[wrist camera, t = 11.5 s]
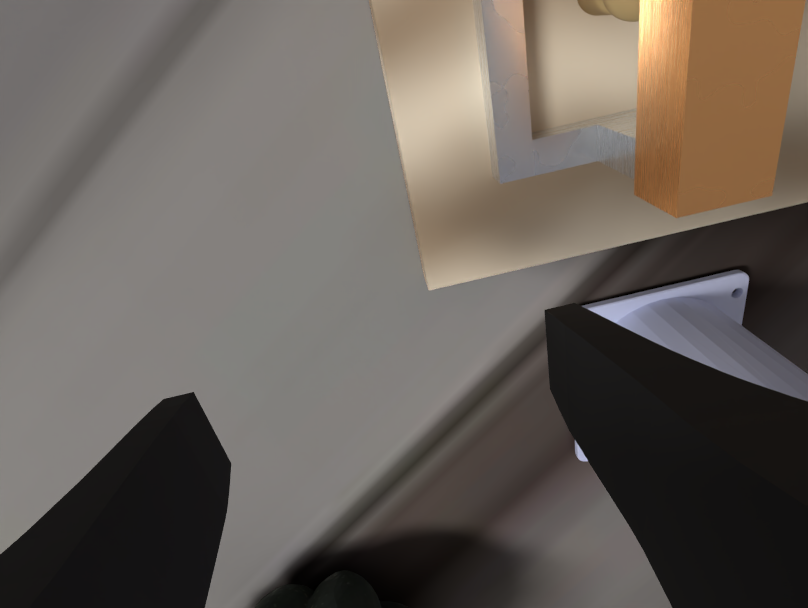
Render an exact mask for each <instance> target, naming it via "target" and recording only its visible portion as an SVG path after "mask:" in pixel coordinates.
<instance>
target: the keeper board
mask: <svg viewBox="0 0 808 608" xmlns="http://www.w3.org/2000/svg"><path fill="white" fill-rule="evenodd" d="M369 4H370V9H371V14H372V19H373V24H374V29H375V34H376V39H377V44H378V49H379V54H380V59H381V64H382V69H383V74H384V79H385V84H386V89H387V94H388V98H389V103H390V108H391V113H392V118H393V123H394V128H395V133H396V138H397V143H398V148H399V153H400V158H401V163H402V168H403V173H404V178H405V183H406V188H407V193H408V198H409V203H410V208H411V213H412V218H413V223H414V228H415V233H416V238H417V243H418V248H419V253H420V258H421V263H422V268H423V273H424V278H425V281H426V284H427V286H428V289H429V290H433V289H438V288H442V287H446V286H450V285H455V284H459V283H463V282H468V281H472V280H476V279H480V278H485V277H489V276H493V275H498V274H502V273H506V272H510V271H515V270H519V269H523V268H528V267H532V266H536V265H540V264H545V263H549V262H553V261H558V260H562V259H566V258H570V257H575V256H579V255H583V254H588V253H592V252H596V251H600V250H605V249H609V248H613V247H618V246H622V245H626V244H630V243H635V242H639V241H643V240H648V239H652V238H656V237H660V236H665V235H669V234H673V233H678V232H682V231H686V230H690V229H695V228H699V227H703V226H708V225H712V224H716V223H720V222H725V221H729V220H733V219H738V218H742V217H746V216H750V215H755V214H759V213H763V212H768V211H772V210H776V209H781V208H785V207H789V206H793V205H798V204H802V203H806V202H808V0H806V1H805V7H804V13H803V19H802V25H801V30H800V36H799V42H798V48H797V54H796V60H795V65H794V71H793V77H792V83H791V89H790V94H789V100H788V106H787V112H786V118H785V124H784V129H783V135H782V141H781V147H780V153H779V158H778V164H777V170H776V176H775V182H774V188H773V193H772V196H769V197H765V198H761V199H757V200H752V201H748V202H744V203H739V204H735V205H731V206H727V207H722V208H718V209H714V210H709V211H705V212H701V213H697V214H692V215H688V216H684V217H679V218H675V217H673V216H672V215H670V214H668V213H666V212H664V211H663V210H661V209H659V208H657V207H655V206H653V205H652V204H650V203H648V202H646V201H644V200H643V199H641V198H639V197H637V196H635V195H634V179H632V178H630V177H628V176H626V175H624V174H622V173H621V172H619V171H617V170H615V169H613V168H611V167H609V166H607V165H605V164H603V163H601V162H599V161H596V162H592V163H588V164H583V165H579V166H575V167H570V168H566V169H562V170H558V171H553V172H549V173H545V174H540V175H536V176H532V177H527V178H523V179H519V180H515V181H510V182H506V183H502V184H500V183H499V182H498V181H497V180H496V179H495V178H494V177H493V176H492V169H491V160H490V151H489V142H488V134H487V125H486V116H485V107H484V98H483V89H482V80H481V71H480V62H479V53H478V44H477V36H476V27H475V18H474V9H473V0H369ZM639 13H640V0H523V14H524V29H525V43H526V58H527V72H528V86H529V101H530V115H531V129H532V132H535V131H540V130H544V129H548V128H552V127H557V126H561V125H565V124H570V123H574V122H578V121H583V120H587V119H591V118H595V117H600V116H604V115H608V114H613V113H617V112H621V111H626V110H630V109H634V108H637V79H638V46H639Z"/></svg>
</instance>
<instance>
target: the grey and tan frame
mask: <svg viewBox="0 0 808 608" xmlns="http://www.w3.org/2000/svg"><path fill="white" fill-rule="evenodd" d="M805 1H806V0H640V13H639V46H638V79H637V108H634V109H630V110H626V111H621V112H617V113H613V114H608V115H604V116H600V117H595V118H591V119H587V120H583V121H578V122H574V123H570V124H565V125H561V126H557V127H552V128H548V129H544V130H540V131H535V132H532V129H531V115H530V101H529V86H528V72H527V58H526V43H525V29H524V14H523V0H473V9H474V18H475V27H476V36H477V44H478V53H479V62H480V71H481V80H482V89H483V98H484V107H485V116H486V125H487V134H488V142H489V151H490V160H491V169H492V176H493V177H494V178H495V179H496V180H497V181H498V182H499V183H500V184H502V183H506V182H510V181H515V180H519V179H523V178H527V177H532V176H536V175H540V174H545V173H549V172H553V171H558V170H562V169H566V168H570V167H575V166H579V165H583V164H588V163H592V162H596V161H599V162H601V163H603V164H605V165H607V166H609V167H611V168H613V169H615V170H617V171H619V172H621V173H622V174H624V175H626V176H628V177H630V178H632V179H634V195H635V196H637V197H639V198H641V199H643V200H644V201H646V202H648V203H650V204H652V205H653V206H655V207H657V208H659V209H661V210H663V211H664V212H666V213H668V214H670V215H672V216H673V217H675V218H679V217H684V216H688V215H692V214H697V213H701V212H705V211H709V210H714V209H718V208H722V207H727V206H731V205H735V204H739V203H744V202H748V201H752V200H757V199H761V198H765V197H769V196H772V193H773V188H774V182H775V176H776V170H777V164H778V158H779V153H780V147H781V141H782V135H783V129H784V124H785V118H786V112H787V106H788V100H789V94H790V89H791V83H792V77H793V71H794V65H795V60H796V54H797V48H798V42H799V36H800V30H801V25H802V19H803V13H804V7H805Z"/></svg>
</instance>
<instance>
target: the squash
mask: <svg viewBox="0 0 808 608" xmlns="http://www.w3.org/2000/svg"><path fill="white" fill-rule="evenodd" d="M255 608H408V607H407V606H405V605H403V604H400V603H396V602H391V601H381V602H380V601H379V598H378V596H377V594H376V593H375V591H374V589H373V588H372V586H371V585H370V584H369V583H368V582H367V581H366V580H365V579H364V578H363V577H362V576H360V575H358V574H356V573H354V572H351V571H338V572H335V573H334V574H332V575H330V576H329V577H327V578H326V579H325V580H324V581H323V582H321V583H320V585H319V586H318V587H317V588H316V589H315V591H314V590H312V589H310V588H308V587H307V586H304V585H296V584H288V585H285V586H281V587H279V588H277V589H275V590H274V591H272V592H271V593H269V594H268V595H267V596H265V597H264V598H262V599H261V601H260V602H259V603H258V604H257V605H256V607H255Z"/></svg>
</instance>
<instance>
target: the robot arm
mask: <svg viewBox="0 0 808 608" xmlns="http://www.w3.org/2000/svg"><path fill="white" fill-rule="evenodd" d="M748 284H749V276H748V275H747V274H746V273H745V272H743V271H741V270H732V271H728V272H724V273H720V274H715V275H711V276H707V277H702V278H698V279H694V280H690V281H685V282H681V283H677V284H673V285H668V286H664V287H660V288H655V289H651V290H647V291H643V292H638V293H634V294H630V295H626V296H621V297H617V298H613V299H608V300H604V301H600V302H596V303H591V304H587V305H583V306H580V305H578V304H575V303H573V304H568V305H564V306H560V307H556V308H551V309H547V310H545V322H546V337H547V351H548V366H549V381H550V390H551V392H552V394H553V396H554V399H555V401H556V403H557V405H558V408H559V410H560V412H561V414H562V416H563V418H564V420H565V422H566V425H567V427H568V429H569V431H570V432H571V434H572V436H573V437H574V439H575V453H576V455H577V457H578V459H579V460H580V461H589V463H590V465H591V466H592V468H593V469H594V471H595V472H596V474H597V476H598V477H599V479H600V480H601V482H602V483H603V485H604V487H605V488H606V490H607V491H608V493H609V494H610V496H611V498H612V499H613V501H614V502H615V504H616V506H617V507H618V509H619V510H620V512H621V513H622V515H623V517H624V518H625V520H626V521H627V523H628V524H629V526H630V528H631V529H632V531H633V533H634V535H635V536H636V538H637V540H638V542H639V543H640V545H641V547H642V548H643V550H644V552H645V554H646V556H647V558H648V560H649V562H650V564H651V566H652V568H653V570H654V572H655V574H656V576H657V578H658V580H659V582H660V584H661V586H662V588H663V590H664V592H665V594H666V596H667V598H668V599H669V601H670V603H671V606H672V608H808V374H807V373H806V372H804V371H803V370H802V369H800V368H799V367H797V366H796V365H795V364H793V363H792V362H791V361H789V360H788V359H787V358H785V357H784V356H782V355H781V354H780V353H778V352H777V351H776V350H774V349H773V348H771V347H770V346H769V345H767V344H766V343H765V342H763V341H762V340H761V339H759V338H758V337H756V336H755V335H754V334H752V333H751V332H750V331H748V330H747V329H745V328H744V327H743V326H742V320H743V314H744V308H745V302H746V296H747V290H748ZM735 289H736V291H735V292H734V293H732V292H733V291H734V290H735ZM230 473H231V462H230V460H229V459H228V457H227V455H226V453H225V451H224V449H223V447H222V445H221V443H220V441H219V440H218V438H217V436H216V434H215V432H214V430H213V428H212V426H211V424H210V422H209V420H208V419H207V417H206V415H205V413H204V411H203V409H202V407H201V405H200V403H199V401H198V400H197V398H196V396H195V394H194V392H192V393H188V394H184V395H179V396H175V397H171V398H166V399H163V400H162V401H161V402H160V403H159V404H158V405H156V406H155V407H154V408H153V409H152V410H151V411H150V412H149V413H148V414H147V415H146V416H145V417H144V418H143V419H142V420H140V421H139V422H138V423H137V424H136V425H135V426H134V427H133V428H132V429H131V430H130V431H129V432H128V433H127V434H126V435H125V436H124V437H123V438H122V440H121V441H120V442H119V443H118V444H117V445H116V446H115V447H114V448H113V449H112V450H111V451H110V452H109V453H108V454H107V455H106V456H105V457H104V458H103V459H102V460H101V461H100V462H99V463H98V464H97V465H96V466H95V467H94V468H93V469H92V470H91V471H90V472H89V473H88V474H87V475H86V476H85V477H84V478H83V479H82V480H81V481H80V482H79V483H78V484H77V485H75V486H74V487H73V488H72V489H71V490H70V491H69V492H68V493H67V494H66V495H65V496H64V497H63V498H62V499H61V500H60V501H59V502H57V503H56V504H55V505H54V506H53V507H52V508H51V509H50V510H49V511H48V512H47V513H46V514H45V515H44V516H43V517H42V518H41V519H39V520H38V521H37V522H36V523H35V524H34V525H33V526H32V527H31V528H30V529H29V530H28V531H27V532H26V533H24V534H23V535H22V536H21V537H20V538H19V539H18V540H17V541H15V542H14V543H13V544H12V545H11V546H10V547H9V548H7V549H6V550H5V551H4V552H3V553H2V554H0V608H205V604H206V600H207V596H208V591H209V587H210V583H211V579H212V574H213V570H214V566H215V562H216V558H217V553H218V549H219V545H220V540H221V536H222V531H223V527H224V522H225V518H226V513H227V506H228V497H229V486H230Z"/></svg>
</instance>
